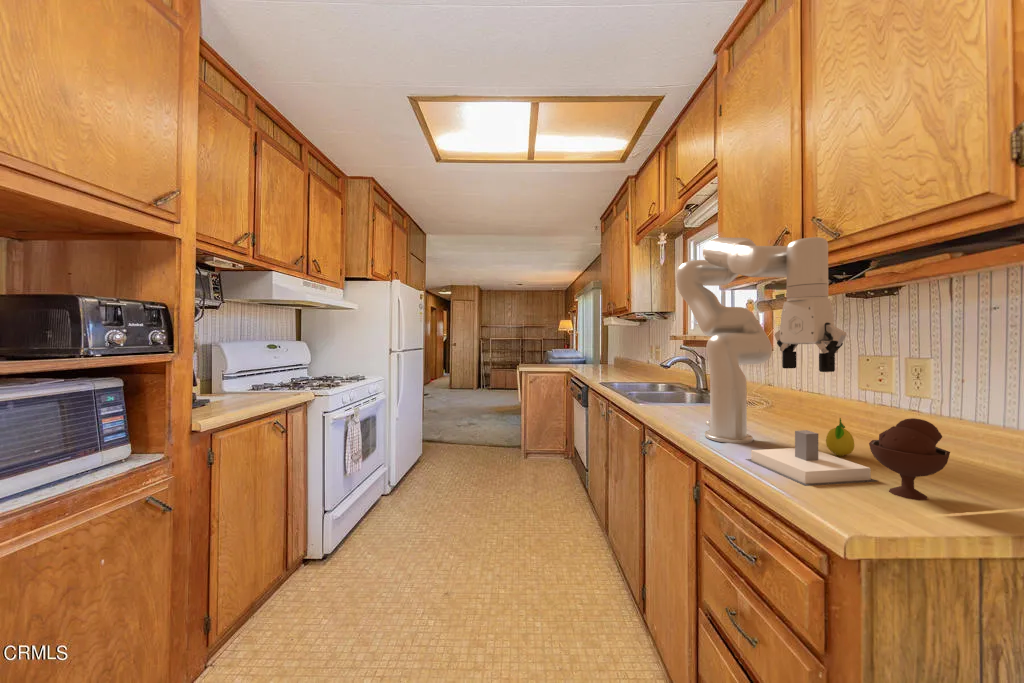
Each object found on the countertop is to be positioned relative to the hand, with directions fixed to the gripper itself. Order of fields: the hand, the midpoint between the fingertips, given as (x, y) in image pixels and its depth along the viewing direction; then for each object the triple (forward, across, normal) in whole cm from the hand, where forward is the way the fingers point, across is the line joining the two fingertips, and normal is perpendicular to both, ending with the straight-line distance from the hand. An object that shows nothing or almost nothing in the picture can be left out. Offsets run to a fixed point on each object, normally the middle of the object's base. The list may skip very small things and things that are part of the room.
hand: (807, 369), depth 88 cm
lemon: (+23, -8, +17) cm, 30 cm away
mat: (+23, 0, 0) cm, 23 cm away
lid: (+23, 0, 0) cm, 23 cm away
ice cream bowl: (+23, +15, +7) cm, 29 cm away
